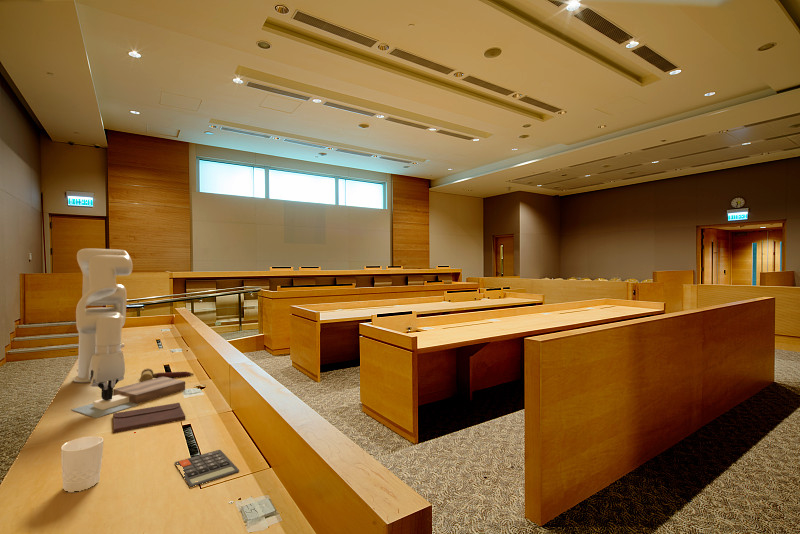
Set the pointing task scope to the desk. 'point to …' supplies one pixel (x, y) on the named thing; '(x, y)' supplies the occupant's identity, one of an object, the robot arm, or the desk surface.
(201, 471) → the calculator
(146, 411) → the notebook
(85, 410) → the mat
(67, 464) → the white cup
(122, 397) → the cream flat block
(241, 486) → the desk surface
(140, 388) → the brown wooden board
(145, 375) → the gavel
